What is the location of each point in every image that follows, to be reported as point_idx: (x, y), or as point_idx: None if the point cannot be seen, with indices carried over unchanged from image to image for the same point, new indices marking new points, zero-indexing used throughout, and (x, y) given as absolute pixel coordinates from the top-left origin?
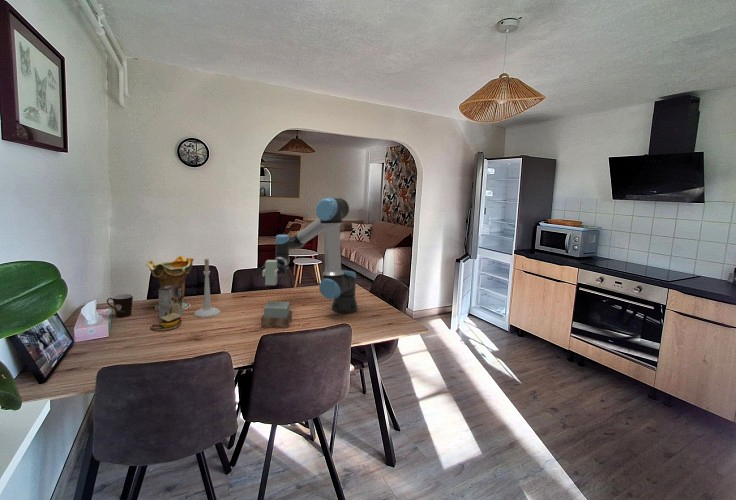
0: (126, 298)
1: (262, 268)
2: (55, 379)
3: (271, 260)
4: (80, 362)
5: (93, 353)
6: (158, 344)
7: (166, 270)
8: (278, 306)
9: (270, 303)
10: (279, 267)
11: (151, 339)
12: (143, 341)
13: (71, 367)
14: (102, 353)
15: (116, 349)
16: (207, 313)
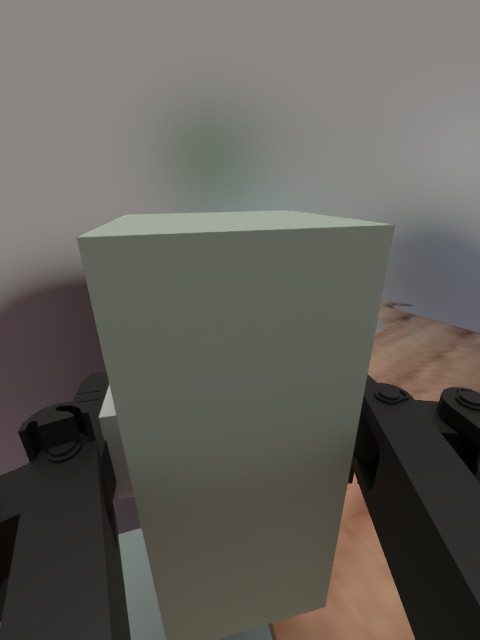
0: None
1: (439, 405)
2: (388, 309)
3: (249, 222)
4: (422, 325)
5: (449, 337)
6: (407, 372)
7: None
8: (150, 574)
9: (238, 637)
10: (63, 410)
11: (453, 382)
12: (451, 373)
13: (412, 319)
14: (438, 339)
15: (441, 349)
16: None
